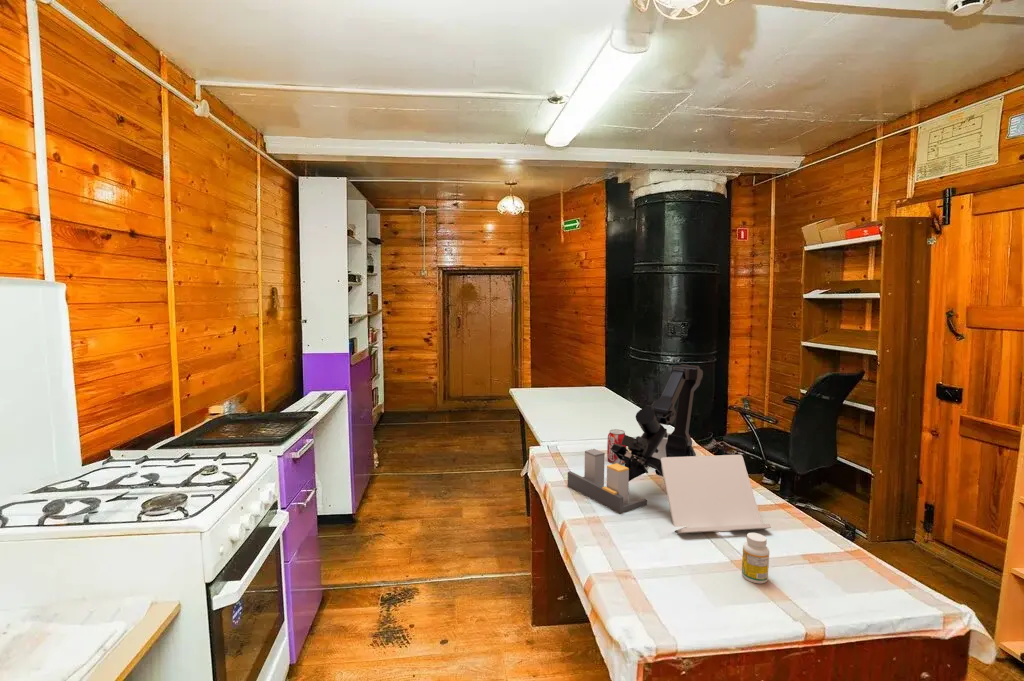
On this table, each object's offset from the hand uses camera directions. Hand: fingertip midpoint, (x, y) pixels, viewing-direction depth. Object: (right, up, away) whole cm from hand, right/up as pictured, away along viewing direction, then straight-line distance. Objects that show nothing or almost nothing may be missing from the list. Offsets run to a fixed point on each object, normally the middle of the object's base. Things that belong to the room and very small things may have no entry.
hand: (623, 482), depth 147 cm
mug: (+23, -4, +42) cm, 48 cm away
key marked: (-2, -6, -1) cm, 7 cm away
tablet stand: (+23, -9, -8) cm, 26 cm away
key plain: (-6, -5, +13) cm, 15 cm away
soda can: (+7, -4, +40) cm, 40 cm away
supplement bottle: (+22, -11, -36) cm, 43 cm away
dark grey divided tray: (-4, -7, +6) cm, 10 cm away
